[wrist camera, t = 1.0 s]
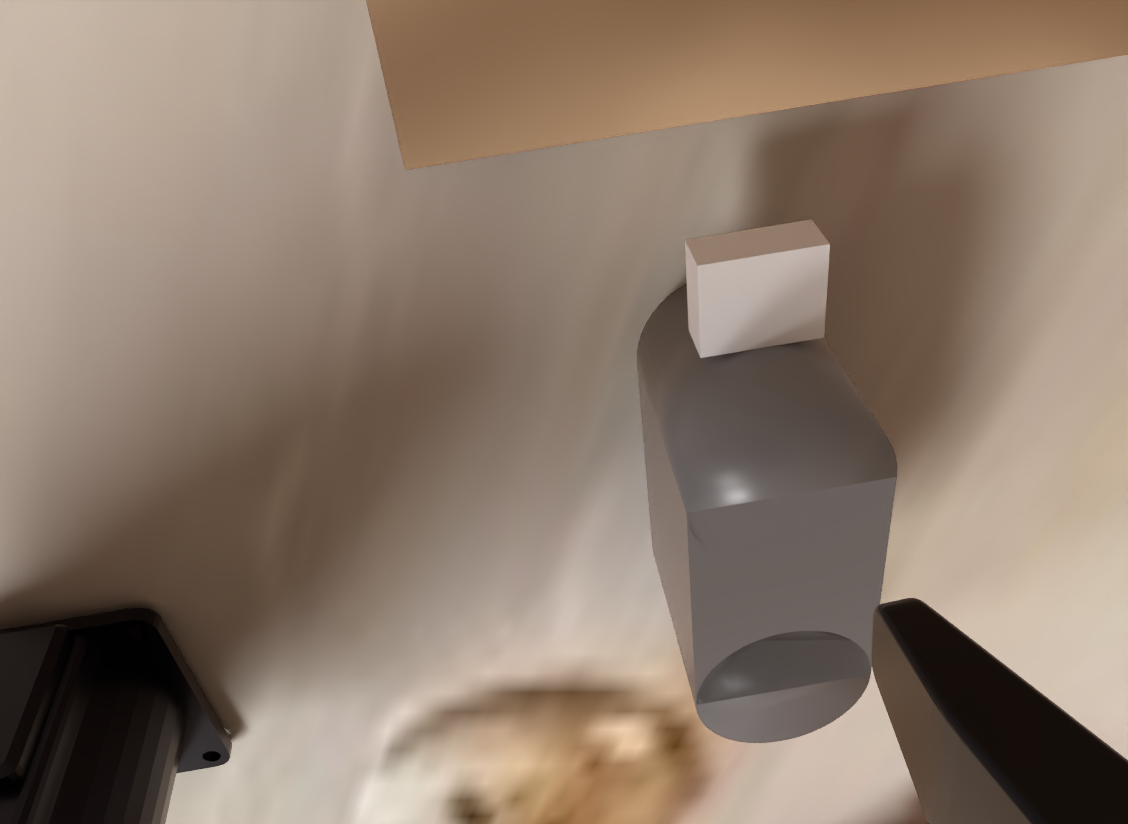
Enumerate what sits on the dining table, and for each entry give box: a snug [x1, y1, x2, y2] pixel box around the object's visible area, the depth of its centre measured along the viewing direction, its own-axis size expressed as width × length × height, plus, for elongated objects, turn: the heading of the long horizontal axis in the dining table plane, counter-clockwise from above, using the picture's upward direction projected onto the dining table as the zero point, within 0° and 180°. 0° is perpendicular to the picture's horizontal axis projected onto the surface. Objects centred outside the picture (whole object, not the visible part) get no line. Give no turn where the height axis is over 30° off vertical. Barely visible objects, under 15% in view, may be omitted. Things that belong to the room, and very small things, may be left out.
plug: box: [637, 219, 897, 743], centre depth 22 cm, size 14×4×5 cm, turn 7°
